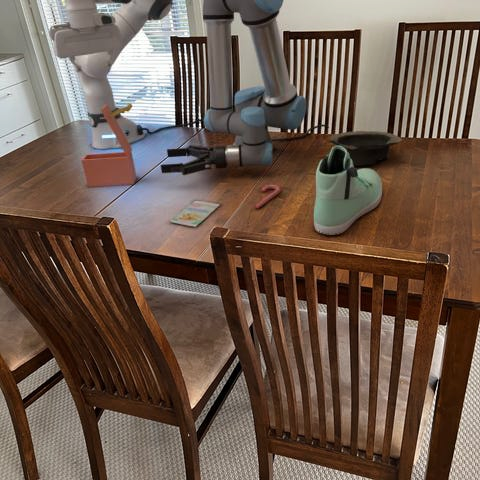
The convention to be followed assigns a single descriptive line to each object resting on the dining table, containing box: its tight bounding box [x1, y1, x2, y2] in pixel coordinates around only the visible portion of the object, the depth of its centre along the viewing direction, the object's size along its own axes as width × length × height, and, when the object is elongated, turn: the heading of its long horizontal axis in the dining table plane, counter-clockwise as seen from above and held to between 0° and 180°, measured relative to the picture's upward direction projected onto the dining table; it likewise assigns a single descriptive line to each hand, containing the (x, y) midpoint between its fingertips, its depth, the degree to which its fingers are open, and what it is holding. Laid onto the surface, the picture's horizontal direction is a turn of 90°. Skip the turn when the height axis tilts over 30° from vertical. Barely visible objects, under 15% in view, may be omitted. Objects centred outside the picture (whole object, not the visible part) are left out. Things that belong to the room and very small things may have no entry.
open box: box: [81, 151, 138, 188], centre depth 165 cm, size 16×5×10 cm, turn 89°
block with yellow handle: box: [101, 103, 133, 156], centre depth 157 cm, size 17×5×8 cm
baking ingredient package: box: [169, 199, 221, 228], centre depth 142 cm, size 9×1×15 cm
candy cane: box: [254, 184, 282, 209], centre depth 148 cm, size 6×15×2 cm, turn 145°
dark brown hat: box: [328, 130, 403, 167], centre depth 168 cm, size 25×25×9 cm
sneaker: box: [313, 145, 383, 236], centre depth 133 cm, size 14×35×20 cm, turn 152°
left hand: (94, 69), depth 147 cm, fingers open, 8 cm apart
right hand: (164, 160), depth 163 cm, fingers open, 13 cm apart
